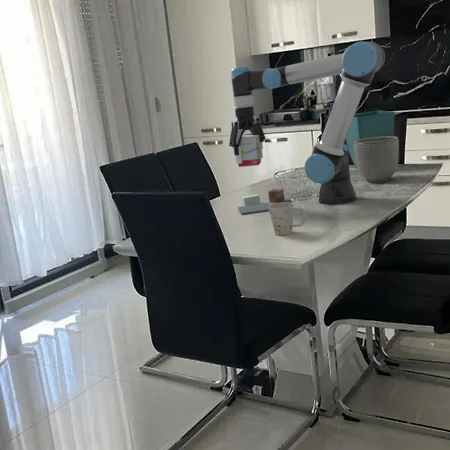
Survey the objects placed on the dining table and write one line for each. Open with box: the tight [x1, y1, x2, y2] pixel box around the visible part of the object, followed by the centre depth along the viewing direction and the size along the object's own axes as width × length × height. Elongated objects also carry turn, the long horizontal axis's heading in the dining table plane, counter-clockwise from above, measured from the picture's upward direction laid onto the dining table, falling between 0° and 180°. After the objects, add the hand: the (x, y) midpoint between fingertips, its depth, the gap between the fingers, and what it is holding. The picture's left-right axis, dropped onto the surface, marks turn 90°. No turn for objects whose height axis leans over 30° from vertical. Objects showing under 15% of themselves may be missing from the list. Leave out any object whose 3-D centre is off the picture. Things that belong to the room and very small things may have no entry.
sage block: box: [240, 193, 261, 207], centre depth 271 cm, size 4×7×4 cm, turn 107°
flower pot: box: [345, 110, 395, 170], centre depth 319 cm, size 20×20×28 cm
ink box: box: [237, 134, 262, 168], centre depth 255 cm, size 9×9×12 cm
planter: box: [354, 135, 399, 184], centre depth 286 cm, size 20×20×19 cm
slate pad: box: [237, 202, 270, 216], centre depth 260 cm, size 13×13×1 cm
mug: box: [268, 201, 307, 236], centre depth 216 cm, size 8×13×10 cm, turn 95°
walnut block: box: [268, 188, 285, 204], centre depth 272 cm, size 5×5×5 cm
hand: (249, 160), depth 256 cm, fingers closed on ink box, 11 cm apart
